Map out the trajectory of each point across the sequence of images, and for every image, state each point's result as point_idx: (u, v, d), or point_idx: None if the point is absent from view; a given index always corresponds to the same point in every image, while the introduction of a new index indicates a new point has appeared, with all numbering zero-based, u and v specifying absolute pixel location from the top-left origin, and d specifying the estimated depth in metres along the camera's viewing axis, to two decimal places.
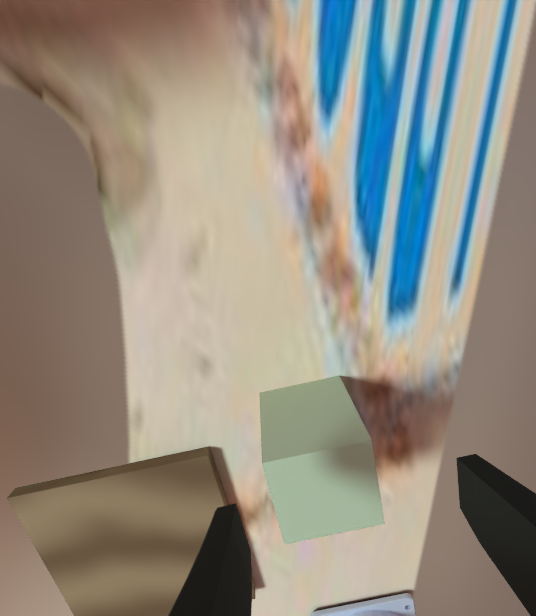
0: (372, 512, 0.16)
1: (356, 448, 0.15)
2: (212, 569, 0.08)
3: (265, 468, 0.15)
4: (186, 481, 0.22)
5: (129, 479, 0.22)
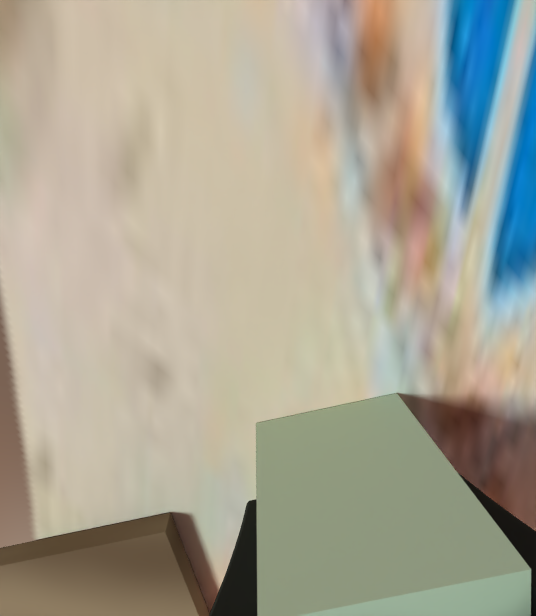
0: None
1: (492, 589, 0.06)
2: (253, 561, 0.08)
3: None
4: (129, 573, 0.13)
5: (30, 571, 0.12)
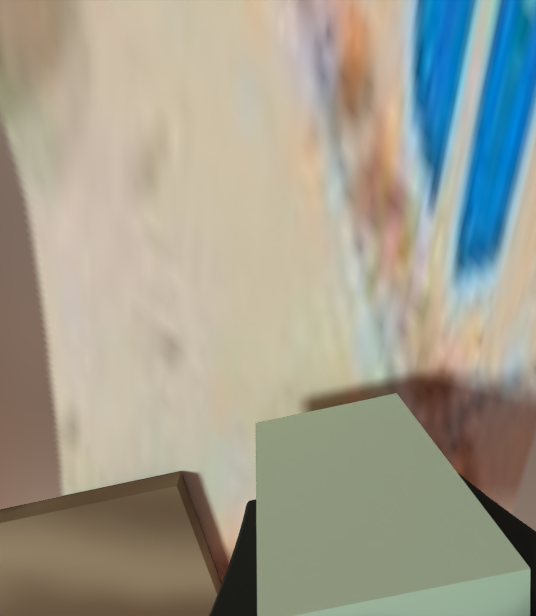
0: None
1: (491, 587, 0.06)
2: (253, 561, 0.08)
3: None
4: (145, 523, 0.15)
5: (59, 521, 0.14)
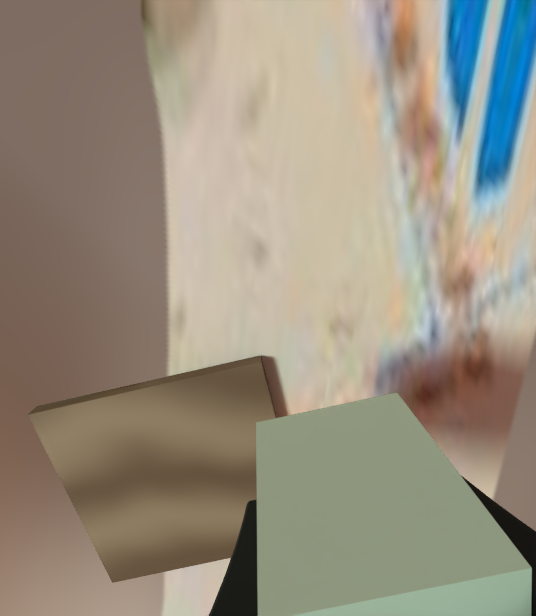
0: None
1: (492, 587, 0.06)
2: (253, 561, 0.08)
3: None
4: (234, 394, 0.19)
5: (169, 391, 0.19)
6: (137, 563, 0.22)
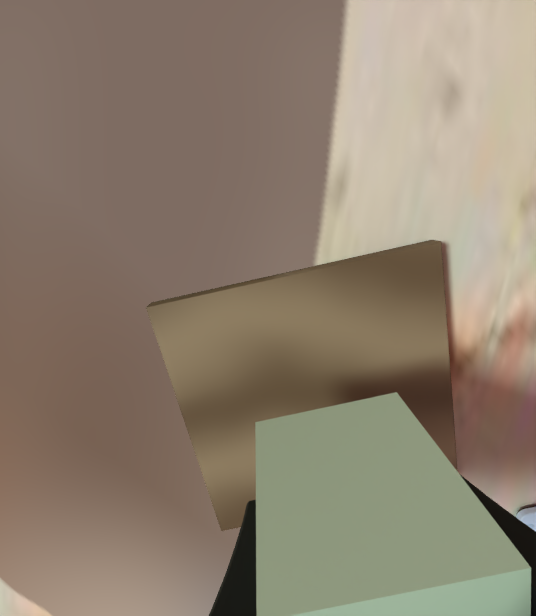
0: None
1: (491, 587, 0.06)
2: (253, 561, 0.08)
3: None
4: (402, 286, 0.15)
5: (323, 280, 0.15)
6: None
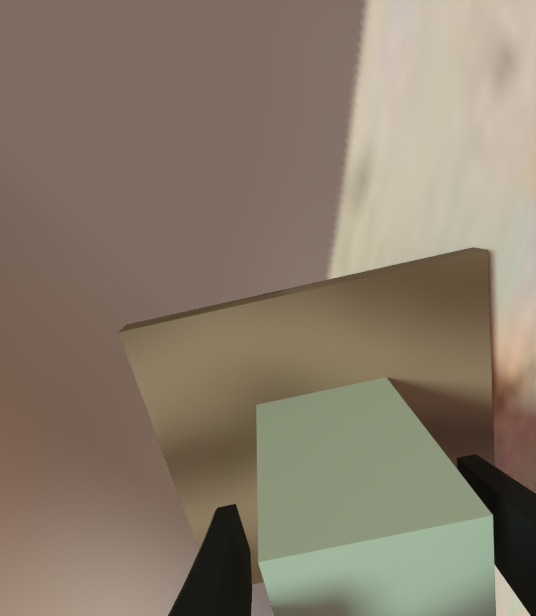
0: None
1: (459, 533, 0.07)
2: (212, 569, 0.08)
3: (265, 572, 0.07)
4: (437, 305, 0.12)
5: (339, 298, 0.12)
6: (253, 565, 0.15)
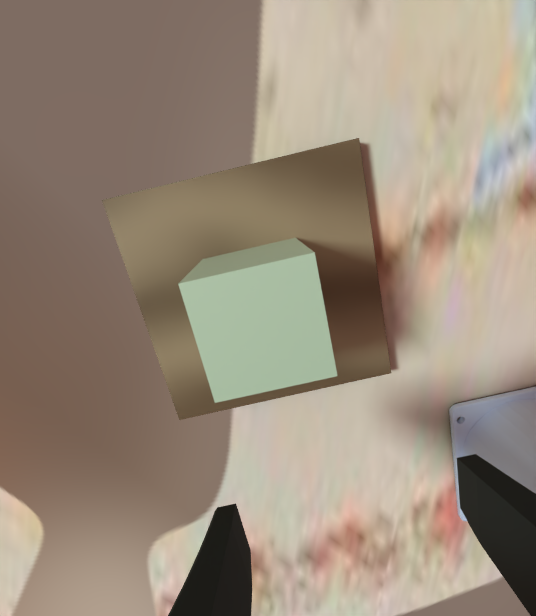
0: (321, 359, 0.13)
1: (296, 265, 0.12)
2: (212, 569, 0.08)
3: (183, 292, 0.12)
4: (327, 180, 0.17)
5: (257, 174, 0.17)
6: (207, 396, 0.20)
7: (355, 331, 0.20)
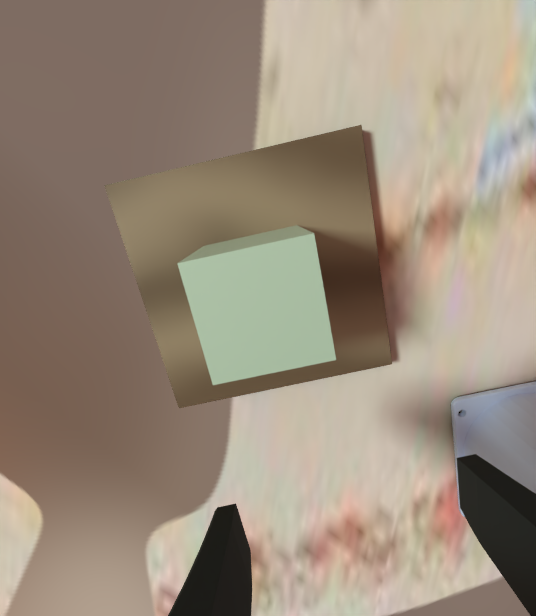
0: (320, 342, 0.13)
1: (295, 245, 0.12)
2: (212, 569, 0.08)
3: (182, 271, 0.12)
4: (329, 167, 0.17)
5: (258, 161, 0.17)
6: (207, 385, 0.20)
7: (356, 321, 0.19)
